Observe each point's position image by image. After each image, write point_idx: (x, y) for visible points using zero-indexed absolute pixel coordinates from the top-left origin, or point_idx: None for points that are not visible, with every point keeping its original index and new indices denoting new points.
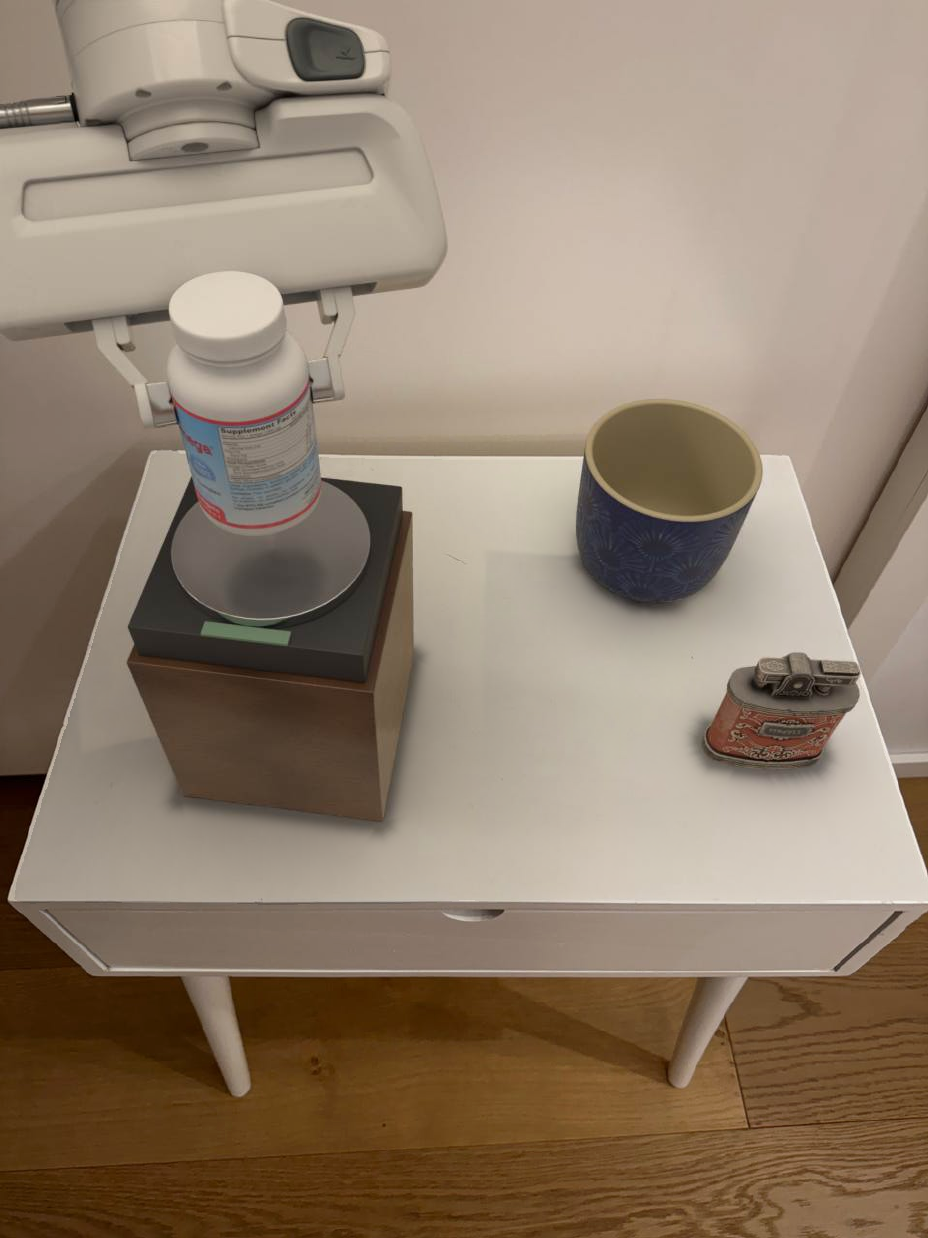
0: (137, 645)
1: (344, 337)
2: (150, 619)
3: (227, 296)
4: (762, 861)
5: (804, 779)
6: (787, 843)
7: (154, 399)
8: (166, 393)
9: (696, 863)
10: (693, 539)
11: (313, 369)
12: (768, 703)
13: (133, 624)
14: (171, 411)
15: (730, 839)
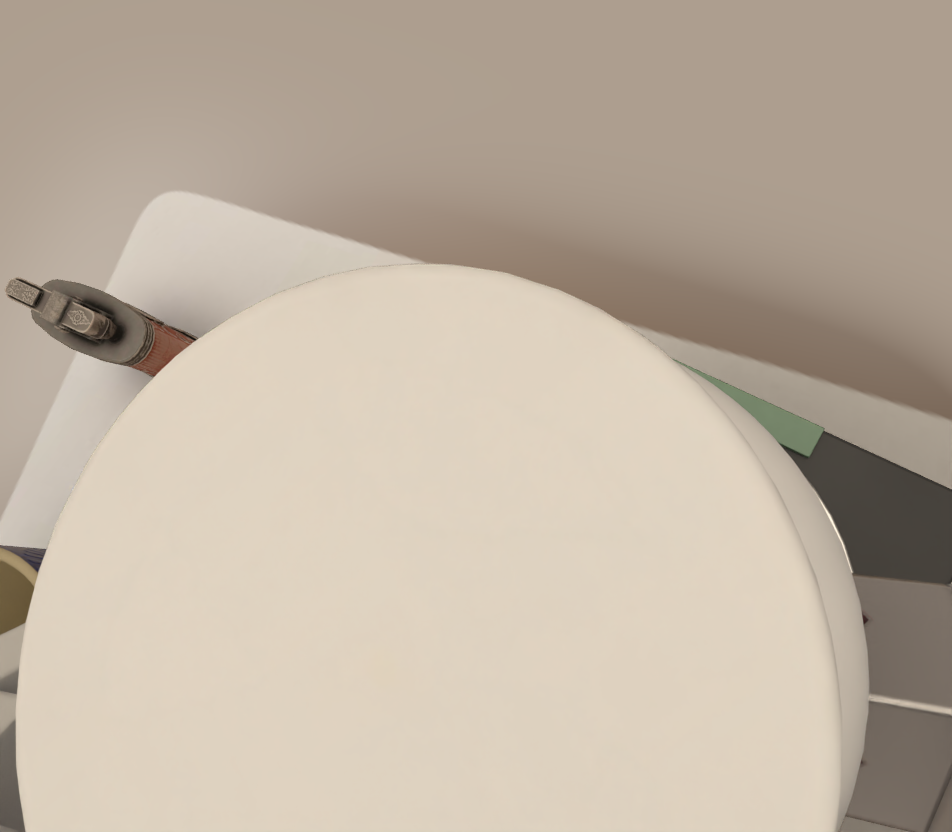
0: None
1: None
2: (931, 510)
3: (325, 756)
4: (254, 246)
5: (167, 313)
6: (222, 256)
7: (942, 649)
8: (877, 647)
9: (309, 262)
10: (36, 550)
11: None
12: (122, 308)
13: None
14: (859, 589)
15: (266, 275)
